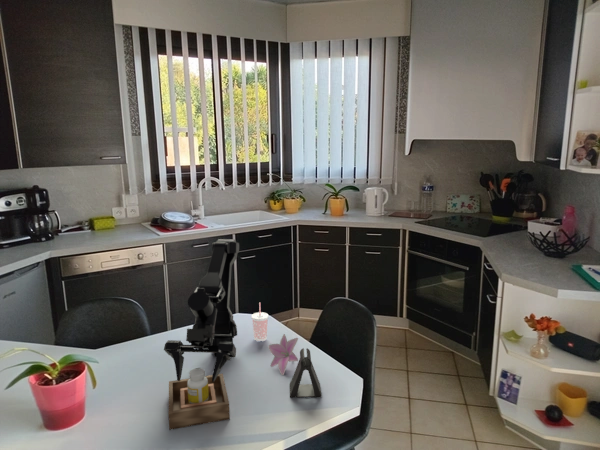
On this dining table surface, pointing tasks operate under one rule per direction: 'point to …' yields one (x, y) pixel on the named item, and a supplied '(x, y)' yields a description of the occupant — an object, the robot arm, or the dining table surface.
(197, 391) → the supplement bottle
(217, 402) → the box
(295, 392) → the phone stand
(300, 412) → the dining table surface
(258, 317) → the beverage cup
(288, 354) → the lily
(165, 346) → the robot arm
